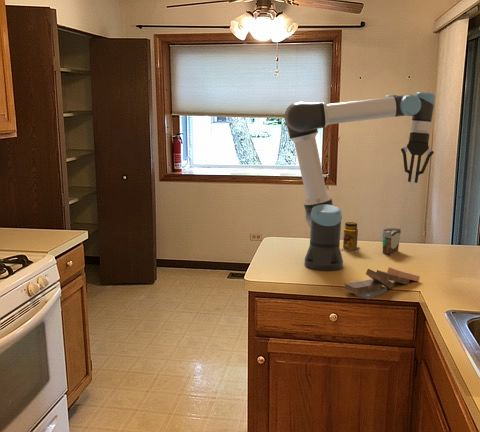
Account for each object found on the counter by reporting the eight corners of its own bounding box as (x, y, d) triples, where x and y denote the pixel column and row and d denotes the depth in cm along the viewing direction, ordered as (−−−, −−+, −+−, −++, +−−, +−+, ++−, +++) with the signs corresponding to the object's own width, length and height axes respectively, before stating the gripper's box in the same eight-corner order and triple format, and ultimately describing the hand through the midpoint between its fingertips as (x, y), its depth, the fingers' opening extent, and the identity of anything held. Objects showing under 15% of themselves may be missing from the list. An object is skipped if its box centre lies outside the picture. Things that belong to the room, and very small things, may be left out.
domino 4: (407, 284, 190) (386, 279, 183) (397, 280, 194) (375, 275, 188) (409, 279, 190) (387, 273, 183) (398, 275, 194) (377, 269, 188)
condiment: (340, 250, 235) (342, 223, 232) (344, 245, 243) (345, 220, 240) (357, 252, 232) (358, 225, 230) (360, 247, 240) (362, 221, 238)
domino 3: (386, 293, 183) (367, 301, 175) (373, 289, 186) (354, 297, 178) (386, 287, 183) (368, 295, 174) (374, 284, 186) (355, 291, 178)
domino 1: (381, 289, 181) (354, 293, 176) (372, 284, 186) (344, 289, 180) (382, 283, 181) (354, 288, 175) (372, 279, 185) (345, 283, 180)
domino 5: (418, 281, 194) (398, 276, 187) (407, 277, 198) (387, 272, 191) (419, 276, 194) (399, 270, 187) (408, 272, 198) (388, 267, 191)
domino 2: (391, 289, 185) (377, 279, 176) (379, 283, 188) (365, 273, 180) (394, 284, 185) (380, 273, 176) (381, 278, 188) (368, 268, 180)
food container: (385, 248, 240) (387, 226, 238) (399, 250, 236) (401, 228, 234) (375, 253, 230) (377, 231, 228) (389, 256, 226) (391, 233, 224)
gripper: (436, 133, 215) (427, 191, 219) (403, 130, 218) (395, 187, 223) (437, 133, 208) (428, 193, 212) (402, 130, 211) (394, 189, 216)
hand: (411, 190), depth 217 cm, fingers closed
